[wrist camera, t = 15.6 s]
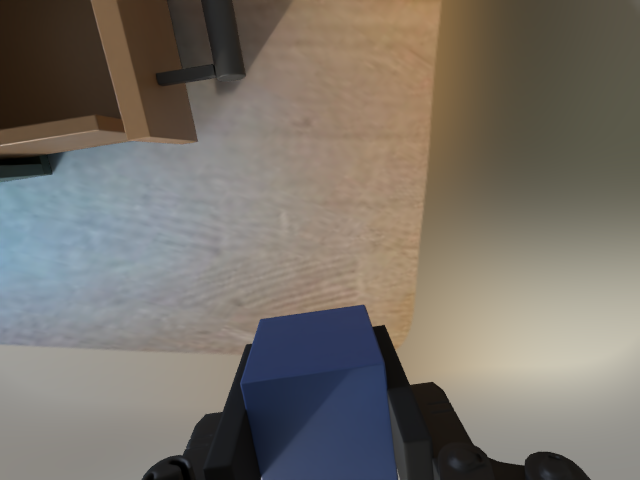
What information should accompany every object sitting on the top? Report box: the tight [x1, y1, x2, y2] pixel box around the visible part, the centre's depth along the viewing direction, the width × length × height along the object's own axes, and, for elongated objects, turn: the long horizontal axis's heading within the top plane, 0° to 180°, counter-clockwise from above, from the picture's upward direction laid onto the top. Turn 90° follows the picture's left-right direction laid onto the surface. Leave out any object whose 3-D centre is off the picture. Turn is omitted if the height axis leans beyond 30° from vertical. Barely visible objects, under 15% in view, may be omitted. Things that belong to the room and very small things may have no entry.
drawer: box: [0, 0, 246, 162], centre depth 21 cm, size 20×12×8 cm, turn 99°
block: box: [240, 305, 398, 480], centre depth 14 cm, size 5×5×5 cm
